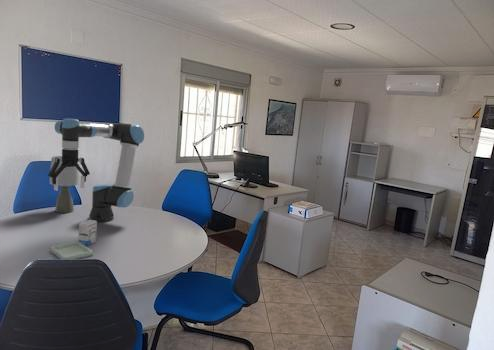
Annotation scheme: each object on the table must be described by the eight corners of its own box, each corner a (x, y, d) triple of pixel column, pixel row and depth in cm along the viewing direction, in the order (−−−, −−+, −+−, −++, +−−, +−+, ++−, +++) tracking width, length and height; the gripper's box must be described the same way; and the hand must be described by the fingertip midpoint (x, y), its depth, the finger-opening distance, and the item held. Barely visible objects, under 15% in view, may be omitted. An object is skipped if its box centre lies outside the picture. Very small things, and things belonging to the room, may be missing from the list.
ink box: (86, 246, 176) (87, 224, 174) (78, 244, 177) (78, 223, 175) (96, 241, 185) (97, 220, 183) (88, 239, 185) (89, 219, 184)
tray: (78, 245, 176) (78, 241, 176) (92, 255, 166) (92, 251, 166) (50, 251, 166) (50, 246, 166) (64, 262, 156) (64, 257, 156)
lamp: (58, 216, 219) (59, 160, 213) (43, 210, 228) (43, 156, 223) (85, 211, 235) (86, 159, 229) (69, 206, 244) (71, 155, 239)
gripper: (89, 148, 186) (88, 185, 189) (40, 147, 166) (40, 189, 169) (97, 149, 181) (96, 188, 185) (47, 149, 161) (47, 192, 165)
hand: (69, 189), depth 177 cm, fingers open, 13 cm apart
